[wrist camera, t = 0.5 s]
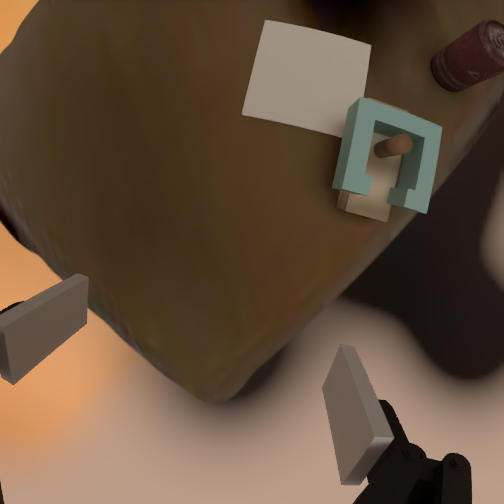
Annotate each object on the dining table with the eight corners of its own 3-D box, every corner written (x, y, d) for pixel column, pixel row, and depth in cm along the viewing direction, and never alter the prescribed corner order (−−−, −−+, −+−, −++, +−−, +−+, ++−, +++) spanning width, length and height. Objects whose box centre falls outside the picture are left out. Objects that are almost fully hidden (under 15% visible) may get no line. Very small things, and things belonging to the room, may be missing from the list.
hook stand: (357, 107, 35) (388, 80, 24) (393, 119, 35) (434, 98, 24) (336, 207, 38) (361, 217, 26) (373, 217, 38) (410, 230, 26)
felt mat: (265, 20, 33) (265, 19, 33) (370, 46, 33) (371, 45, 33) (241, 115, 36) (241, 114, 36) (354, 141, 36) (355, 141, 36)
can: (469, 70, 32) (525, 42, 18) (458, 100, 33) (519, 77, 20) (437, 44, 32) (487, 6, 18) (424, 74, 33) (479, 39, 19)
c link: (348, 108, 30) (360, 96, 26) (421, 133, 30) (442, 127, 25) (331, 187, 32) (341, 188, 27) (406, 209, 32) (426, 213, 27)
